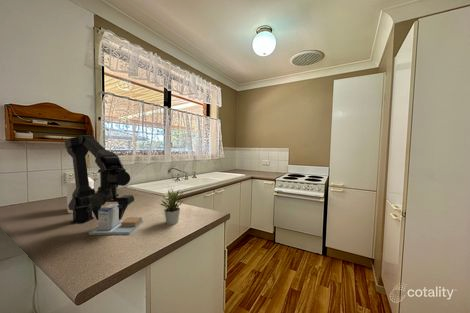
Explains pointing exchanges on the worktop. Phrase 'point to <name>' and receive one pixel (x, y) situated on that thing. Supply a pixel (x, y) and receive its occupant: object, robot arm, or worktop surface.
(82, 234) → the worktop surface
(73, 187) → the bottle
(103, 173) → the robot arm
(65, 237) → the worktop surface
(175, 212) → the house plant
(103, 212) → the medicine box
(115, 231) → the board
